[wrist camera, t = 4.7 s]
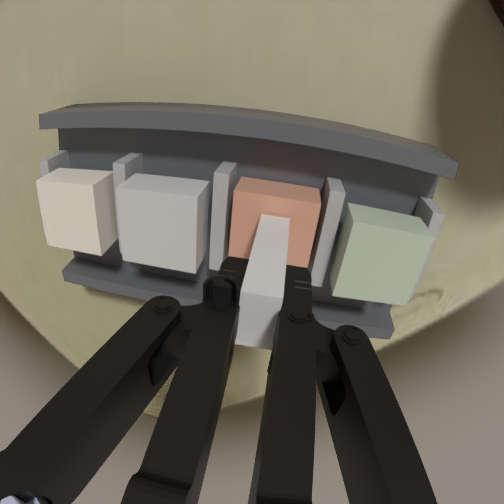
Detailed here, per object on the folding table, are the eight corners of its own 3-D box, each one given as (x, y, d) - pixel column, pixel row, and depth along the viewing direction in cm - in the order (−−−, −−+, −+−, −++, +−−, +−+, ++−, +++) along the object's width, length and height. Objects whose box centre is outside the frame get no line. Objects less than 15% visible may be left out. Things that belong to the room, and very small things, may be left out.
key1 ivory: (67, 228, 20) (47, 244, 18) (58, 167, 18) (35, 180, 16) (119, 237, 20) (101, 256, 18) (114, 171, 18) (92, 185, 16)
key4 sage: (329, 271, 19) (332, 295, 17) (347, 202, 17) (353, 221, 15) (396, 281, 19) (405, 305, 17) (420, 217, 17) (434, 237, 15)
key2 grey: (139, 240, 20) (122, 260, 18) (135, 173, 18) (115, 187, 16) (206, 251, 20) (195, 273, 18) (209, 181, 17) (197, 197, 15)
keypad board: (88, 254, 26) (61, 283, 22) (73, 104, 19) (34, 115, 16) (380, 304, 25) (390, 343, 21) (433, 146, 18) (462, 165, 14)
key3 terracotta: (235, 243, 21) (227, 264, 19) (241, 176, 19) (233, 190, 16) (305, 254, 21) (305, 276, 19) (318, 188, 18) (321, 204, 16)
